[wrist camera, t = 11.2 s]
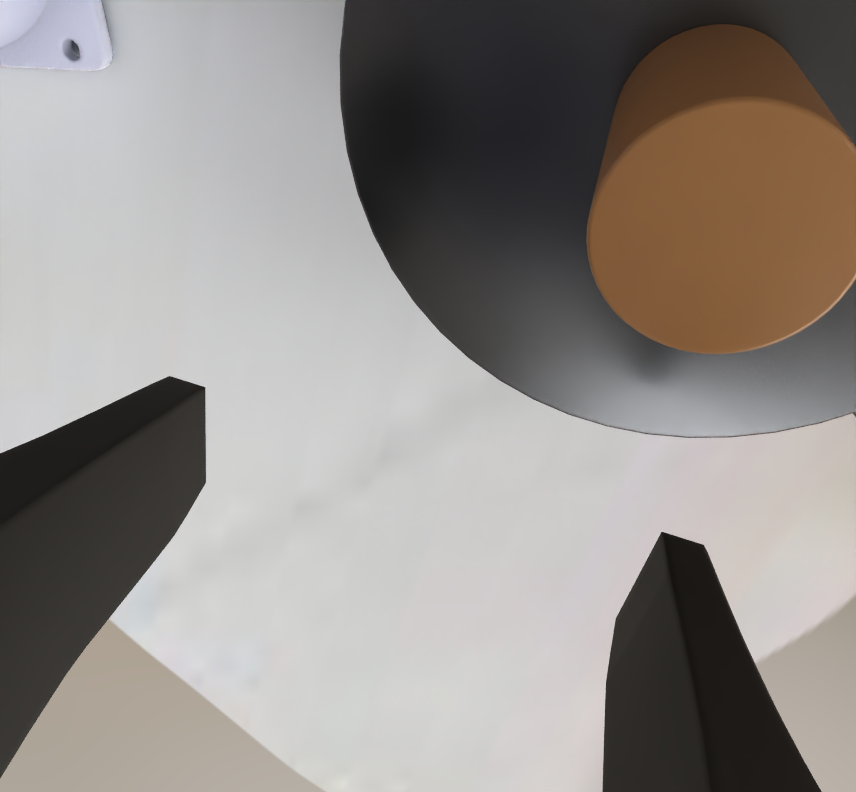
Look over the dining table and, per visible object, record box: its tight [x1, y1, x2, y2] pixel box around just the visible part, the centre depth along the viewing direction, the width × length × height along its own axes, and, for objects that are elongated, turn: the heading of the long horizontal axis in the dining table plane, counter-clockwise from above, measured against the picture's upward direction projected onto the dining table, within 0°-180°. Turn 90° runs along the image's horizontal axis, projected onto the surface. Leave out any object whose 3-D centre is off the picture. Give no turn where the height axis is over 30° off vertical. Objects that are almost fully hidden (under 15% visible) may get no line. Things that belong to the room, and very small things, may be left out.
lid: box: [340, 0, 856, 438], centre depth 9 cm, size 11×11×6 cm
